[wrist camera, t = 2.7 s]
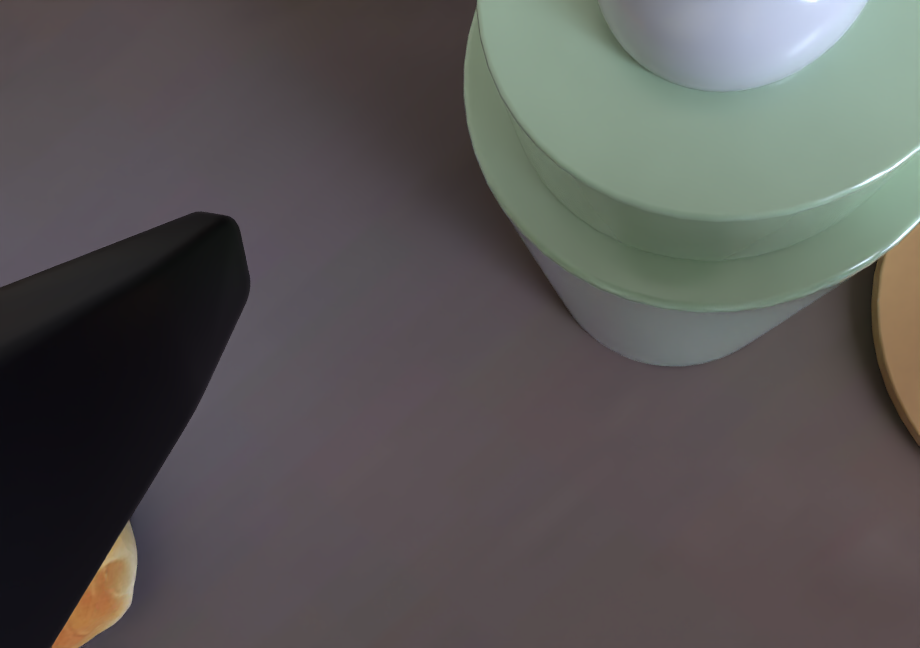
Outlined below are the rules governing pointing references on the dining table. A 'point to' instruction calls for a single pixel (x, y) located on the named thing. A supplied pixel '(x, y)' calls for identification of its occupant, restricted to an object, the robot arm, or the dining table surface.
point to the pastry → (104, 594)
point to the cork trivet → (899, 327)
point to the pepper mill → (697, 156)
